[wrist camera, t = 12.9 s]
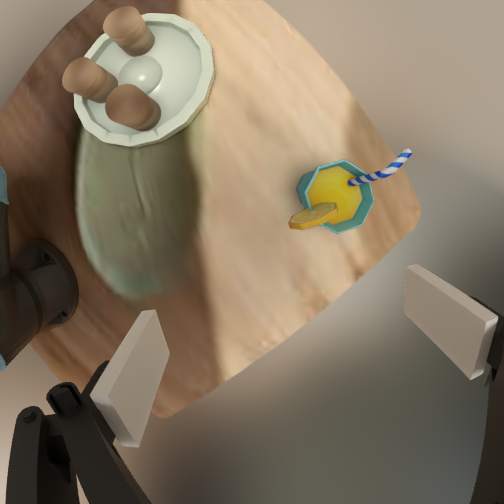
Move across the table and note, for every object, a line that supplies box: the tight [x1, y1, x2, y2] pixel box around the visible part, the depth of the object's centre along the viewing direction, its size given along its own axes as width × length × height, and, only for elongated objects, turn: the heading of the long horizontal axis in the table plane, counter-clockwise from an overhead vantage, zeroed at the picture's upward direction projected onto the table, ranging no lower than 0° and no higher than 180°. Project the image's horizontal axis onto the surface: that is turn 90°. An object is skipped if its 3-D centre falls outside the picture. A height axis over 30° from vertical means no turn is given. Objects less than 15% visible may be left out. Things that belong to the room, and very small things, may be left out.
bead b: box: [103, 6, 155, 57], centre depth 27 cm, size 5×5×8 cm
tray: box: [74, 13, 215, 148], centre depth 32 cm, size 20×20×2 cm
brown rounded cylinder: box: [62, 57, 118, 103], centre depth 29 cm, size 5×5×8 cm
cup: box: [289, 148, 412, 234], centre depth 32 cm, size 14×8×15 cm, turn 131°
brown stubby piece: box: [105, 84, 161, 131], centre depth 31 cm, size 5×5×8 cm
